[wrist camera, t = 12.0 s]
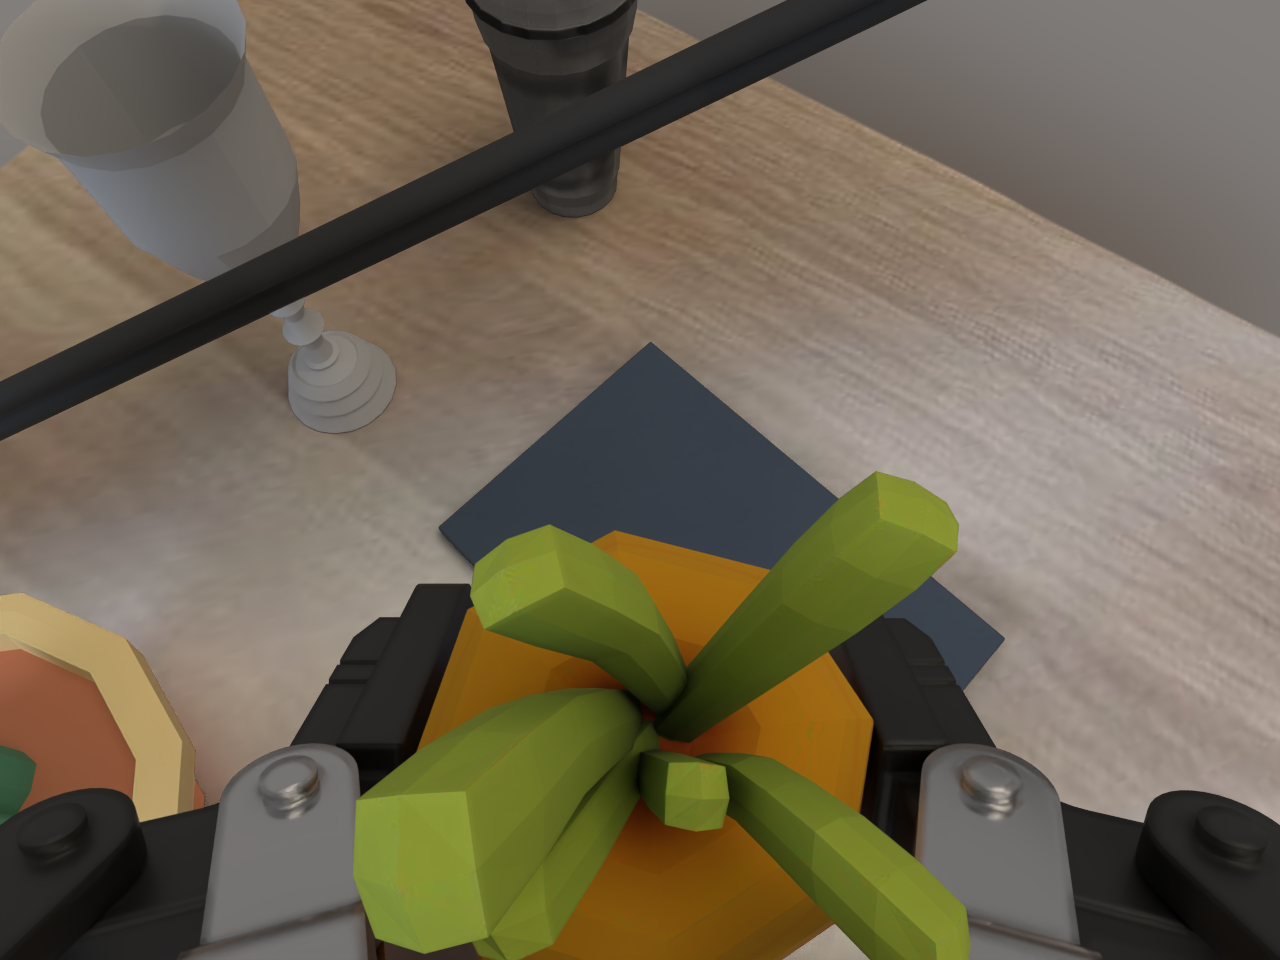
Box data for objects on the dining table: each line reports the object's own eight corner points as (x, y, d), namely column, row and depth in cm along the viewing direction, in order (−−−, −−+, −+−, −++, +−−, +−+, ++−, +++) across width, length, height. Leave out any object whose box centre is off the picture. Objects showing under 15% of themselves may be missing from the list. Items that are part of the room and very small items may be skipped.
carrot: (733, 668, 19) (978, 232, 5) (775, 908, 17) (1332, 1199, 3) (518, 696, 19) (187, 316, 5) (536, 943, 17) (78, 1417, 3)
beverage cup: (534, 257, 42) (449, -196, 23) (485, 156, 44) (373, -323, 26) (666, 210, 43) (683, -258, 24) (610, 114, 45) (587, -374, 27)
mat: (441, 533, 36) (437, 526, 35) (650, 349, 40) (650, 340, 39) (792, 893, 30) (796, 895, 30) (998, 642, 34) (1006, 638, 33)
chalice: (282, 319, 40) (30, -38, 24) (422, 318, 40) (267, -40, 24) (256, 456, 37) (-51, 158, 21) (406, 455, 37) (218, 156, 21)
